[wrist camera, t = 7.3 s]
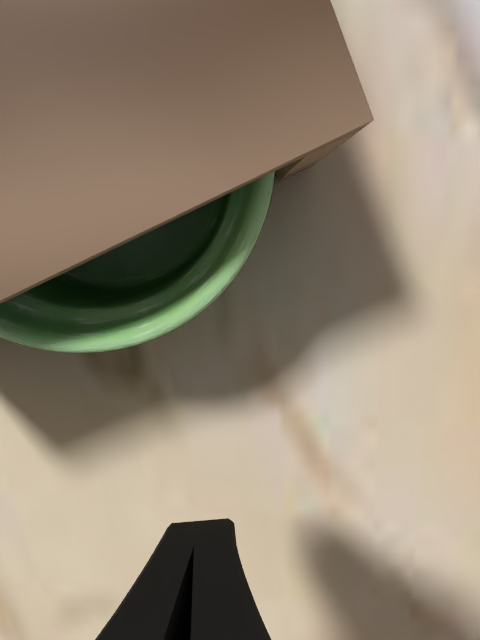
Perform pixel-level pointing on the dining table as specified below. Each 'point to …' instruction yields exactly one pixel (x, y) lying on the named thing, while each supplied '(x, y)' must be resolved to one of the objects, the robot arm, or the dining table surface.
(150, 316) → the ramekin
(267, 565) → the dining table surface
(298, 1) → the walnut shelf
